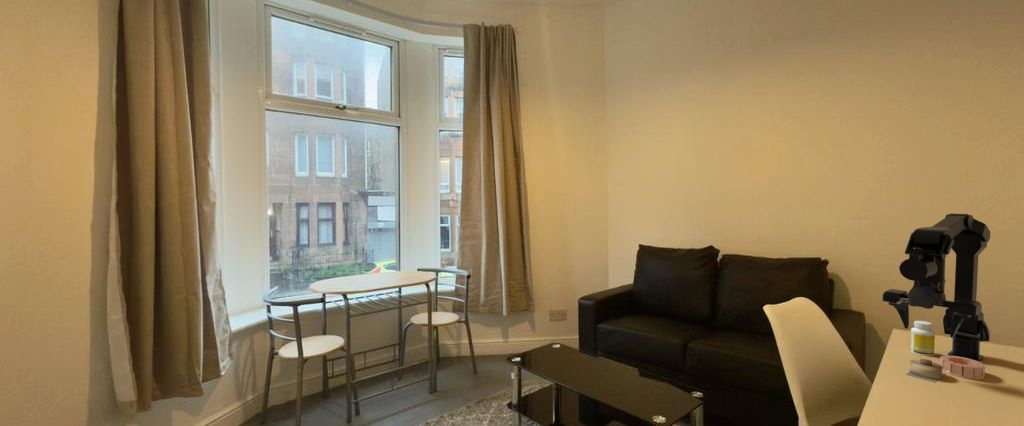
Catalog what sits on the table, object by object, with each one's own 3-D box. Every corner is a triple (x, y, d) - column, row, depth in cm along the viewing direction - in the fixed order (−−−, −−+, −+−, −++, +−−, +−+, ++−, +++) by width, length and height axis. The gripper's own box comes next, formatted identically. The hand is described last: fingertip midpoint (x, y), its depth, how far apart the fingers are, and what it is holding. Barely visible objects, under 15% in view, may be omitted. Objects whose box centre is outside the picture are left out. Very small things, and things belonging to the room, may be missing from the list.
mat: (917, 368, 125) (917, 366, 125) (946, 375, 120) (946, 373, 120) (905, 375, 121) (905, 374, 121) (934, 383, 115) (934, 382, 115)
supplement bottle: (938, 357, 132) (939, 325, 132) (917, 356, 133) (918, 324, 133) (925, 351, 138) (926, 320, 137) (905, 350, 139) (906, 319, 138)
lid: (914, 367, 125) (915, 354, 125) (945, 375, 119) (946, 361, 119) (906, 372, 121) (906, 359, 121) (937, 381, 116) (937, 367, 116)
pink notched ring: (945, 365, 127) (946, 353, 126) (988, 375, 119) (988, 362, 119) (935, 372, 122) (936, 359, 122) (978, 383, 115) (979, 370, 115)
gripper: (874, 274, 122) (874, 329, 123) (970, 286, 106) (968, 349, 107) (890, 269, 128) (889, 322, 129) (983, 279, 112) (981, 339, 113)
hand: (928, 332), depth 119 cm, fingers open, 9 cm apart
